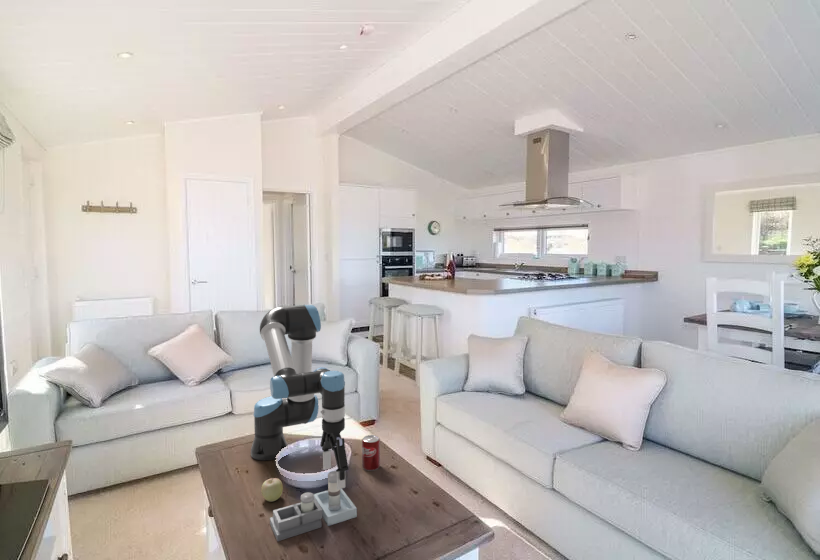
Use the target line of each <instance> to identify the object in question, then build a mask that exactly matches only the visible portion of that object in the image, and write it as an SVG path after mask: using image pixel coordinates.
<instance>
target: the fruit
mask: <svg viewBox="0 0 820 560" xmlns="http://www.w3.org/2000/svg"><path fill="white" fill-rule="evenodd" d="M283 485H284V484H283V483H282V481H281V480H280V479H279V478H278V477H277V478H276V477H275V478H274V477H271V478H269V479H266V480H265V481H264V482H263V483H262V485H261V488H260V490H261V492H260V493H261V495H262V497H263V499H264V500H266V501H267V502H271V503H272V502H275V501H277V500H278V499H280V497H281V496H282V493H283V490H284V488H283V487H284V486H283Z"/></svg>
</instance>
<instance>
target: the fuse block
mask: <svg viewBox="0 0 820 560" xmlns="http://www.w3.org/2000/svg"><path fill="white" fill-rule="evenodd" d="M314 494H315V493H313V492H310V491H309V492H304V493H302V494H301V495H300V502H297V503H294V504H291V505H287V506H284V507H280V508H276V509H273V510H272V517H269V525H270V527H271V530H272V532H273V535H274V536H275V539H276V542H281V541H282V540H287V539H289V538H292V537H295V536H299V535H301V534H302V535H303V534H305V533H307V532H310V531H311V532H312V531H315V530H317V529H320V528H322V526H323V525H322V520H321V519H323V517H322V509H321V507H320V506H319V504H318V502H317V501H316V499H315V498H314Z"/></svg>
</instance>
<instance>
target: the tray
mask: <svg viewBox="0 0 820 560" xmlns="http://www.w3.org/2000/svg"><path fill="white" fill-rule="evenodd" d="M343 489H344V488H341V489H340V501H341V508H340V509H339V510H338V511H330V510H329V509H328V489H327V490H324V491H321V492H317V493H313V494H314V498H315V499H316V501H317V502H318V504H319V506H320V507H321V509H322V519H323V520H324V522H325V523H326V524H325V525H326V526H327V527H330V526H332V525H336V524H338V523H342V522H345V521H347V520H348V521H349V520H350V519H351V520H352V519H354V518H357V517H358V516H357V515H358V510H357V509H358V508H357V507H356V505H355V503H354V502H353V501H352V500H351V498H350V497H349V496H348V494H347V493H346V492H345V491H344V490H343Z"/></svg>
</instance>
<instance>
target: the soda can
mask: <svg viewBox="0 0 820 560" xmlns="http://www.w3.org/2000/svg"><path fill="white" fill-rule="evenodd" d="M361 465H362V468H363V470H364V471H367V472H374V471H377V470H378V469H379V468H380V467H381V439H380V437H379V436H378V435H376V434H375V435H374V434H368V435H365V436H364V437H363V438H362V439H361Z"/></svg>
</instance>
